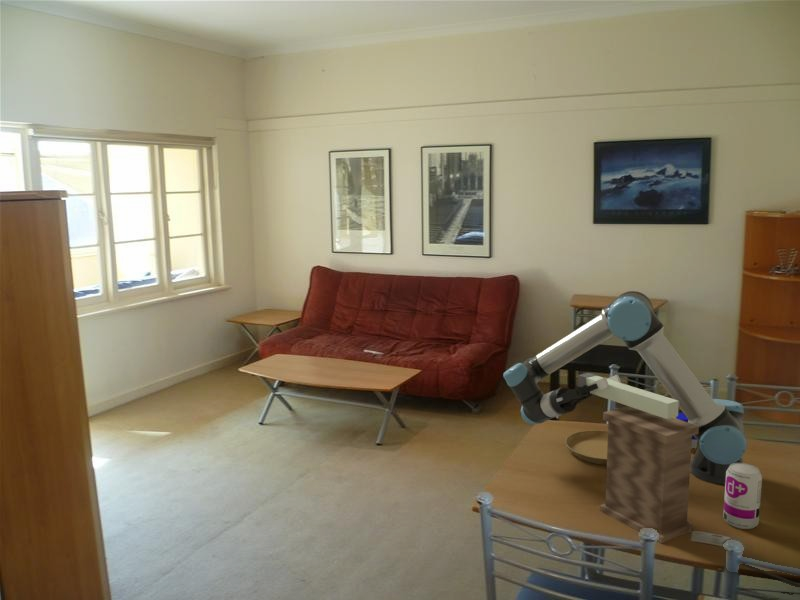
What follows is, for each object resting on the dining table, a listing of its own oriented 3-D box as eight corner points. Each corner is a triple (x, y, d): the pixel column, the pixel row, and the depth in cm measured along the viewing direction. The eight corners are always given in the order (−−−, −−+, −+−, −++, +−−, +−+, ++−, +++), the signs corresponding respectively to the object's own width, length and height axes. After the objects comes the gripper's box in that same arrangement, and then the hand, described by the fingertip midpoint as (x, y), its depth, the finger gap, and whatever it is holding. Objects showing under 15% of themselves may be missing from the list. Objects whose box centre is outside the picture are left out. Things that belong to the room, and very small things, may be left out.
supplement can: (742, 533, 169) (747, 477, 167) (716, 518, 177) (719, 465, 174) (765, 526, 172) (769, 471, 170) (738, 512, 180) (741, 459, 177)
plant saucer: (633, 474, 205) (633, 463, 204) (556, 459, 217) (556, 449, 216) (647, 446, 225) (647, 437, 225) (576, 434, 237) (576, 426, 237)
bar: (577, 389, 190) (578, 375, 189) (588, 386, 192) (588, 372, 191) (667, 419, 165) (667, 403, 164) (678, 416, 167) (679, 400, 166)
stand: (599, 510, 182) (603, 412, 177) (630, 499, 188) (634, 404, 183) (661, 543, 165) (666, 436, 160) (692, 530, 171) (698, 426, 166)
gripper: (584, 408, 204) (639, 388, 184) (541, 420, 195) (595, 399, 176) (575, 385, 206) (629, 362, 186) (533, 395, 197) (585, 372, 178)
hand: (612, 380), depth 181 cm, fingers closed on bar, 4 cm apart
